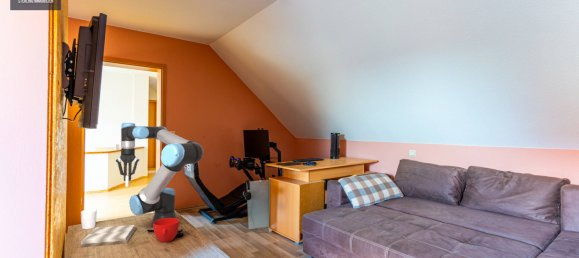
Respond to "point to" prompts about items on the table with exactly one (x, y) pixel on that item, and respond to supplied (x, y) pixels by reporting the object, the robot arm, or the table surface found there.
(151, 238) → the table surface
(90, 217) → the white cup
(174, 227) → the ceramic cup
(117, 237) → the base board
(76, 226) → the table surface
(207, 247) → the table surface
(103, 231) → the raised plank
